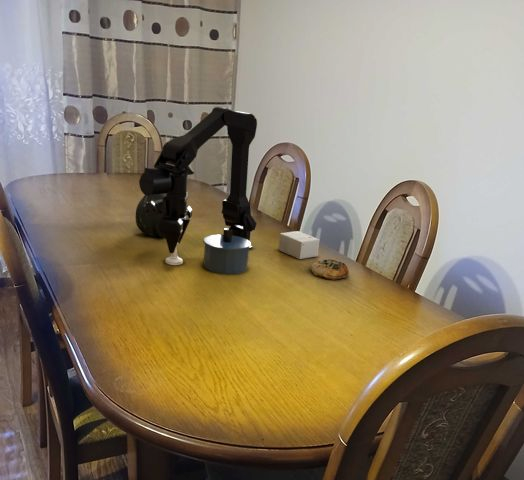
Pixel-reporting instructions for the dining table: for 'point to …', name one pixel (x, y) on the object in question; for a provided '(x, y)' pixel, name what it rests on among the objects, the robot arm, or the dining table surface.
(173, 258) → the chess piece
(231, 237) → the pot lid
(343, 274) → the bread roll
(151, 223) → the squash
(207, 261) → the pot
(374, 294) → the dining table surface
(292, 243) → the small box
